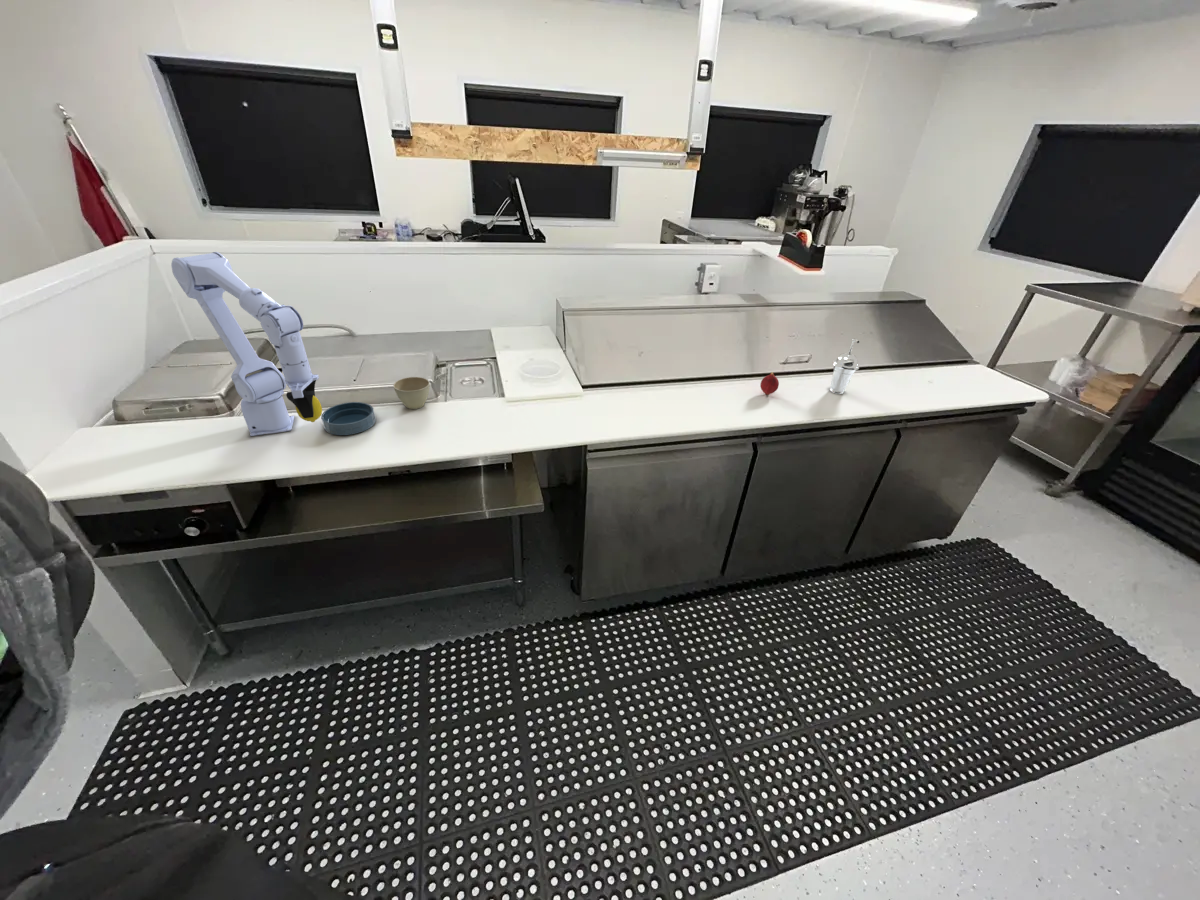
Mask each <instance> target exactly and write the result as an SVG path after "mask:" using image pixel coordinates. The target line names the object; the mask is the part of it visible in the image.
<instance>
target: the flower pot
mask: <svg viewBox="0 0 1200 900" xmlns="http://www.w3.org/2000/svg"><path fill="white" fill-rule="evenodd" d="M430 385H431V383H430V380H429V379H427V378H426V377H421V376H407V377H403V378H400V379H398V380H396V381H395V382H394V383H393V385H392V386H393V390H394V392H395V394H396V396H397V398H398V399H399V401H400V402H401V404H403V405H404V406H405V408H407V409H408V410H419V409H421V408H423V407H424V405H425V404H426V402H427V399H428V397H429V393H430Z"/></svg>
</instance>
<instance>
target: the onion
mask: <svg viewBox="0 0 1200 900" xmlns="http://www.w3.org/2000/svg"><path fill="white" fill-rule="evenodd" d="M779 381H780V380H779V379H778V377H777V376H775V373H774V372H773V371H771V372H770V374H768V375H766V376H764V377H763V378H762V379H761V380H760V386H759V387H760V390H761V391H762V392H763V394H764V395H767V396H769V395H771V394H772V395H773V394H775V392H776V391H777V390H778V389H779V385H780V382H779Z"/></svg>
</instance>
